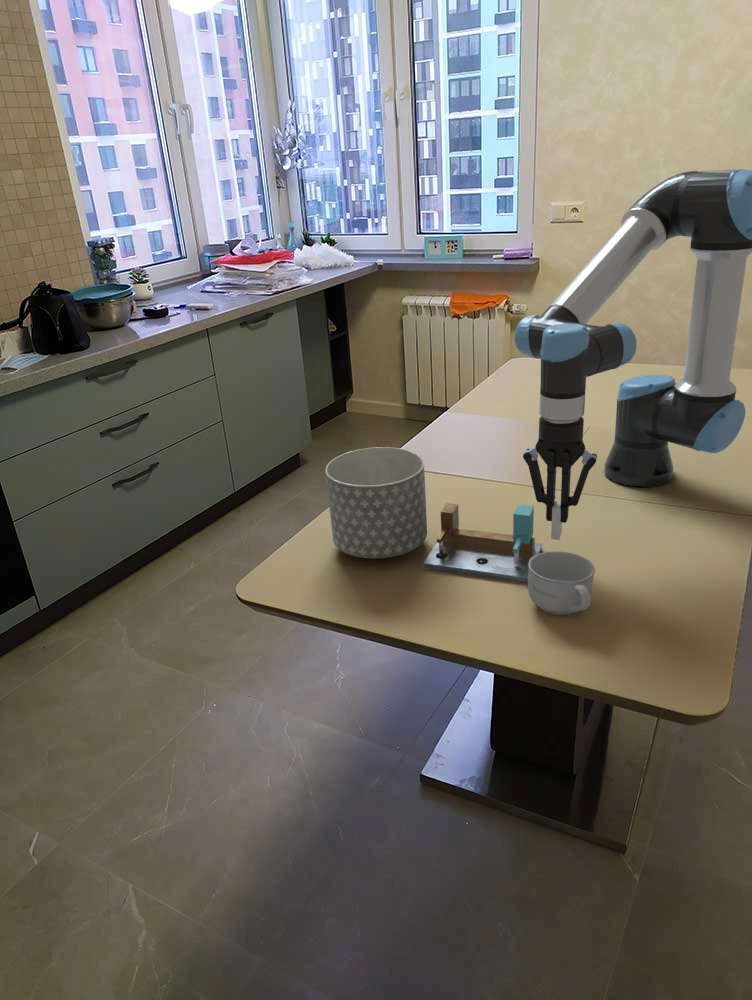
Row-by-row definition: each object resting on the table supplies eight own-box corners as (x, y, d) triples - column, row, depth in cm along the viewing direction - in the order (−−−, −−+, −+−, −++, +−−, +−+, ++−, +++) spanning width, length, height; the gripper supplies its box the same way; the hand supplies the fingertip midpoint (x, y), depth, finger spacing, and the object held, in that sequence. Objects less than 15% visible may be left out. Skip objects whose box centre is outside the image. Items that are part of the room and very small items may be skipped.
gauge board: (541, 549, 141) (543, 509, 137) (528, 583, 130) (529, 542, 127) (443, 536, 148) (442, 499, 145) (423, 568, 138) (421, 528, 134)
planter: (338, 527, 155) (329, 449, 147) (426, 523, 154) (422, 444, 146) (330, 574, 138) (320, 488, 130) (429, 569, 137) (425, 483, 129)
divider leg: (532, 543, 140) (533, 506, 136) (522, 568, 132) (523, 529, 128) (517, 541, 141) (518, 504, 137) (506, 565, 133) (507, 527, 129)
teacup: (520, 591, 128) (520, 552, 125) (579, 584, 129) (582, 545, 125) (542, 637, 116) (544, 595, 112) (608, 630, 116) (612, 588, 113)
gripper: (603, 411, 125) (594, 531, 135) (527, 407, 130) (525, 523, 140) (598, 426, 119) (589, 550, 129) (519, 421, 124) (517, 541, 134)
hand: (556, 536), depth 135 cm, fingers closed
